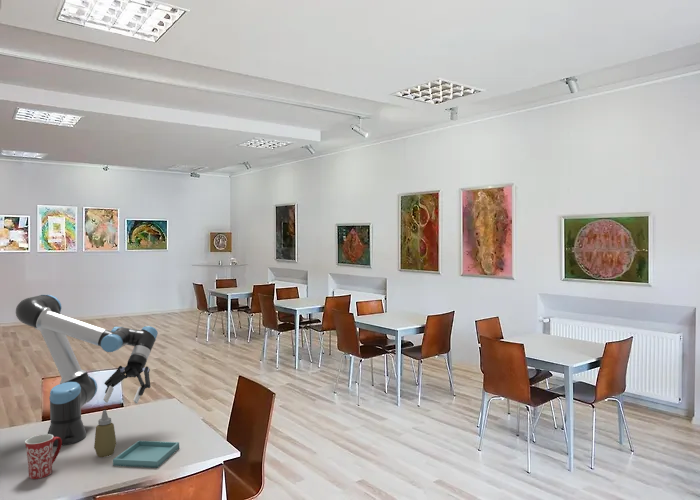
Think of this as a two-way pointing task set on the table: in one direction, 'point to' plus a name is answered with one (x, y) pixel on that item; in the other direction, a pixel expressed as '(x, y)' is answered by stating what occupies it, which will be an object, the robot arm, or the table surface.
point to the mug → (41, 455)
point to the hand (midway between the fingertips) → (120, 401)
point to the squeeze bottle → (105, 436)
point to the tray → (146, 454)
